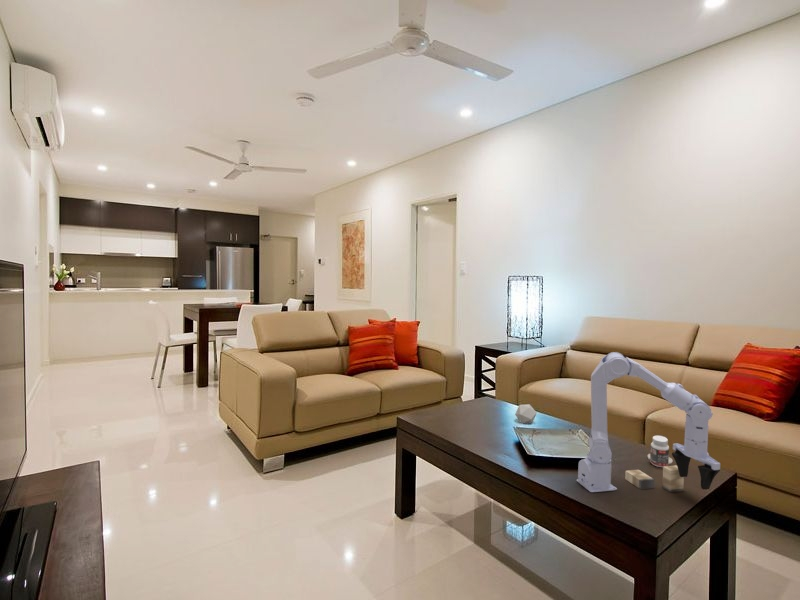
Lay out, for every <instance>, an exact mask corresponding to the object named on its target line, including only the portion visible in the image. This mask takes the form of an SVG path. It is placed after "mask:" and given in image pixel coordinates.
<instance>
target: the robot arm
mask: <svg viewBox="0 0 800 600" xmlns="http://www.w3.org/2000/svg"><path fill="white" fill-rule="evenodd" d="M626 375H627V377H632V378H633V377H637V378H639V379H641V380H643V381H644V382H645V383H647V384H649V385H650V386H652V387H654V388H656V389H657V390H659V391H660V395H661V397H662V398H663V399H664V400H666V401H667V402H668V403H671V404H672V405H674V406H675V407H676V408H678V409H679V410H681V411H684V412H685V423H684V425H685V426H684V443H683V444H680V443H677V442H676V443H672V450H673V451H675V452H671V456H672V457H673V459H674V461H675V465H677V467H678V471H679V475H680V477H684V478H685V477H686V478H687V477H688V475H689V474H688V473H689V466H690V462H691V459H693V460H695V461H697V462H699V463H701V464H703V465H701V464H700V465H697V468H698V471H699V476H700V489H701V490H710V487H711V485H712V483H713V480H714V479H715V477H716V476H717V475H718V473H720V471H721V462H718V461H717V460H716V459H714V458H713V457H711V456H710V453H709V452H708V446H709V445H708V443H709V421H710V419H712V417H713V416H714V415H713V414H714V413H713V412H712V408H710V405H708V404H707V403H706V402H705V401H704V400H702V399H701V398H700V397H699V396H698V395H697V394H696V393H694V394H692V393H691V392H690V391H687V390H686V389H685V388H684V385H683V384H680V383H676V382H673V381H672V382H666V381H664V380H663V379H662V378H661V377H659V376H657V374H655V373H653V372H652V371H650V370H649V369H647V368H646V367H644V365H642V364H640V363H639V362H637V361H635V360H633V359H631V358H629V357H628V356H624V355H623V354H622V353H620V352H618V351H615V352H614V351H612V352H609V353H608V354H606V355H604V356H603V357H602V358H601V360H600V361H599V363H598V364H597V365H596V366H595V368H594V369H593V371H592V372H591V375H590V402H591V403H590V404H591V407H590V409H591V411H590V413H591V416H590V417H591V420H590V421H591V430H590V437H589V438H588V439H587V440H588V441H587V444H588V445H587V446H588V447H589V451H588V453H587V455H586V457H585V458H583V459H581V460H579V461H578V466H577V467H578V469H577V479H576V482H578V484H580V485H581V486H582V487H583V488H584V489H586V490H587V491H589V492H590V493H600V492H611V491H617V490H618V488H617V487H616V486H614V485H613V484H612V483H611V482H612V456H613V453H612V450H611V447H610V444H609V437H608V436H609V434H608V391H607V389H608V387H607V385H608V384H609V383H610V382H612V381H613V380H615V379H618V378H622V377H624V376H626Z"/></svg>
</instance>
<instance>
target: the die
mask: <svg viewBox="0 0 800 600" xmlns="http://www.w3.org/2000/svg"><path fill="white" fill-rule="evenodd" d="M515 411H516V412H515V414H514V416H516V418H517V419H518V421H519V422H520V423H521V424H533V422H534V420H535V417H536V416H537V413H538V412H537V411H536V410H535V409H534V408H533V406H532V405H531V404H529V403H528V404H519V405H518V407H517V409H516V410H515Z"/></svg>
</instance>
